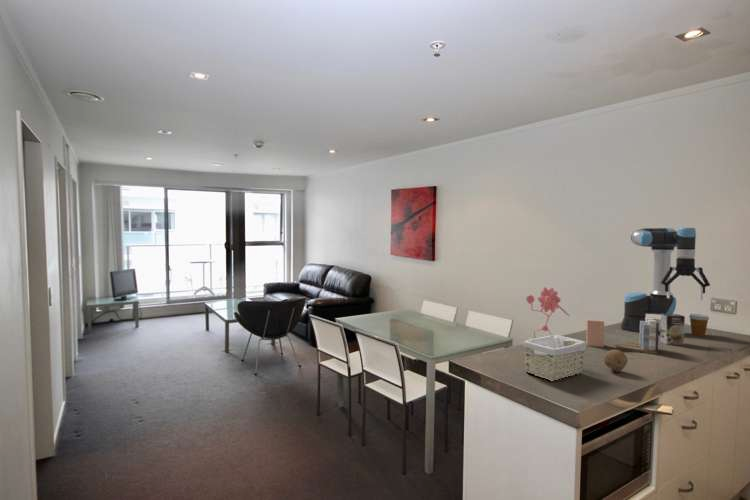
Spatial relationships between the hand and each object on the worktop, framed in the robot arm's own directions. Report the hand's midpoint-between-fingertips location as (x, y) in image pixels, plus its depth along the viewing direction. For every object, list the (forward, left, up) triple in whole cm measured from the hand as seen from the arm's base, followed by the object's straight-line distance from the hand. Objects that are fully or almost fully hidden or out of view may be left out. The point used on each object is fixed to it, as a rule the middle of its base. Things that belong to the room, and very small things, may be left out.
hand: (684, 298), depth 210 cm
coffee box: (-19, 0, -28) cm, 34 cm away
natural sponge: (+47, -36, -28) cm, 66 cm away
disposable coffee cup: (-48, +20, -28) cm, 59 cm away
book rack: (+2, -21, -28) cm, 35 cm away
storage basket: (+60, -61, -28) cm, 90 cm away
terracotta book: (+2, -40, -28) cm, 49 cm away
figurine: (+35, -63, -28) cm, 78 cm away
